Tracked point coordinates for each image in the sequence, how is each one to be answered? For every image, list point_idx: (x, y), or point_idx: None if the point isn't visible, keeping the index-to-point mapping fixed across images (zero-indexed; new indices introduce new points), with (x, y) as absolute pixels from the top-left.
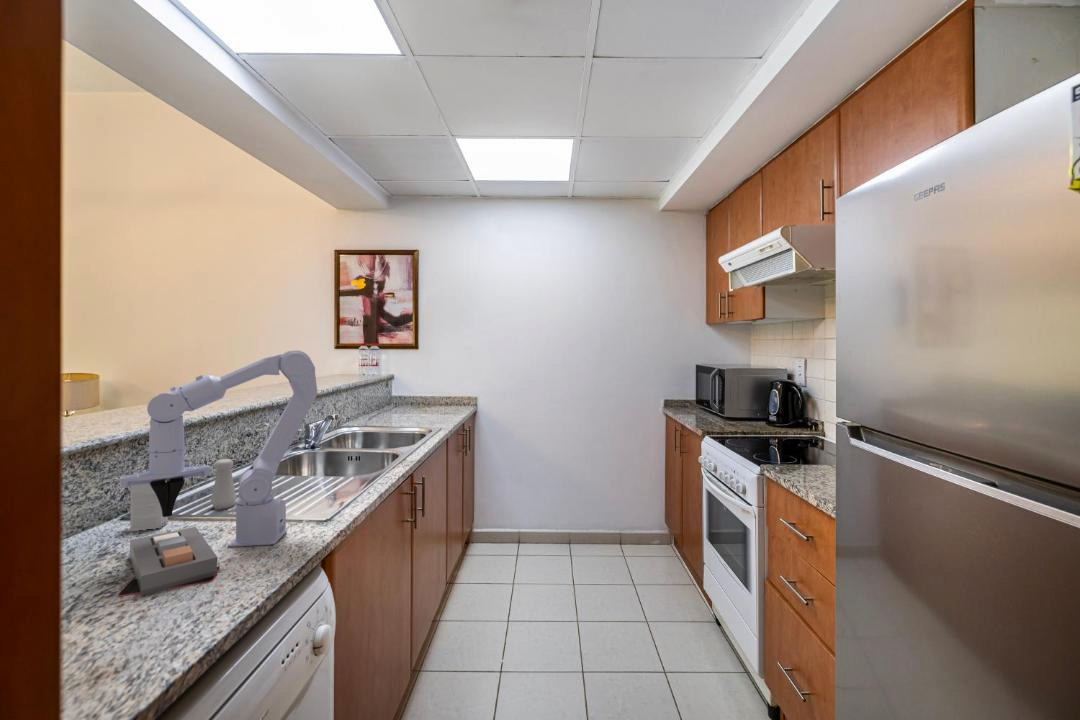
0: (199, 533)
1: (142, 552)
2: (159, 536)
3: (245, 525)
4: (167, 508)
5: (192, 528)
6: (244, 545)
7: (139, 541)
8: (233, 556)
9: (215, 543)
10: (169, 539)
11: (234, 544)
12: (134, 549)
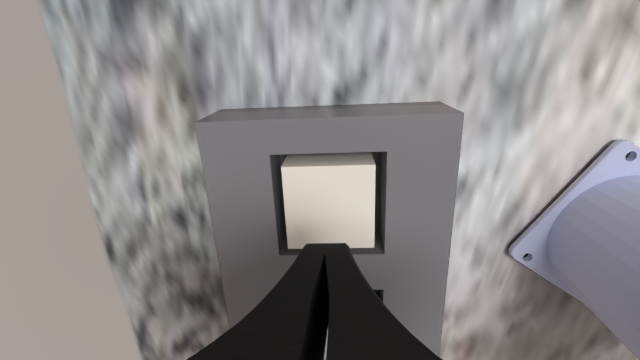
0: (448, 233)
1: (248, 308)
2: (304, 175)
3: (612, 332)
4: (324, 351)
5: (444, 135)
6: (551, 281)
7: (232, 171)
8: (489, 328)
9: (491, 171)
10: (327, 334)
11: (529, 265)
12: (222, 261)
